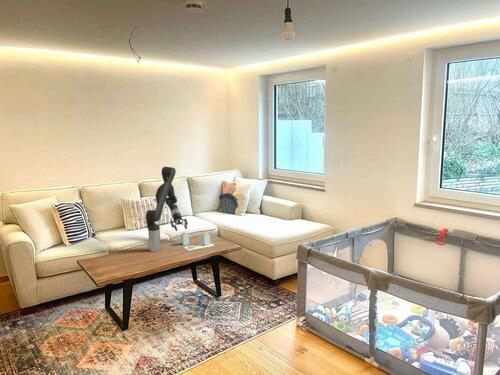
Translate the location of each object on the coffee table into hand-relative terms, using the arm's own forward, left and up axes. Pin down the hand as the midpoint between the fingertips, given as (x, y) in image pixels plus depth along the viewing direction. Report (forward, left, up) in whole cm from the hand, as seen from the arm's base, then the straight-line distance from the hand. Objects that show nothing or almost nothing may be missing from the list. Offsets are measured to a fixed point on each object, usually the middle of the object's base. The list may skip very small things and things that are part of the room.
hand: (181, 229), depth 330 cm
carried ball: (0, -8, -2) cm, 8 cm away
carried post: (0, -8, -12) cm, 14 cm away
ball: (+13, -23, -2) cm, 26 cm away
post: (+13, -23, -11) cm, 28 cm away
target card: (+6, -23, -12) cm, 26 cm away
